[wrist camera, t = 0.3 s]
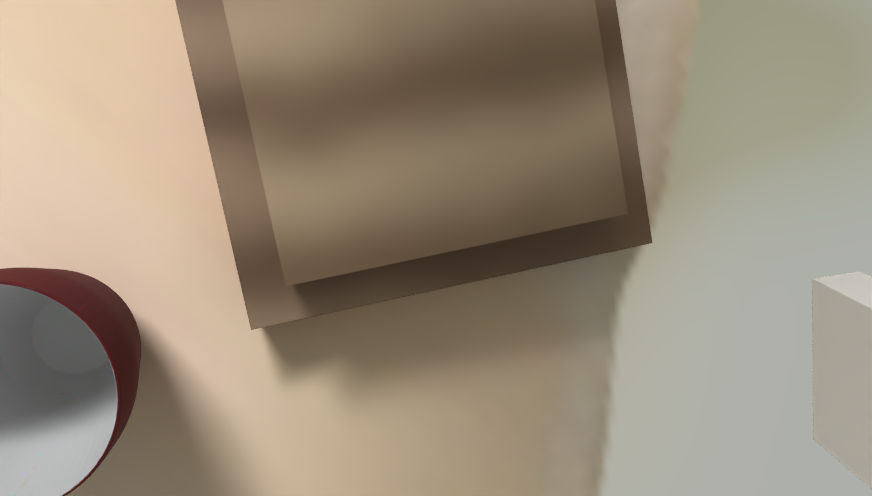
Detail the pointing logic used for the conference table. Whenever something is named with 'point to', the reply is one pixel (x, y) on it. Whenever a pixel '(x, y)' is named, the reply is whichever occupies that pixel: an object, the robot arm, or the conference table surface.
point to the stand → (412, 143)
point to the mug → (61, 378)
